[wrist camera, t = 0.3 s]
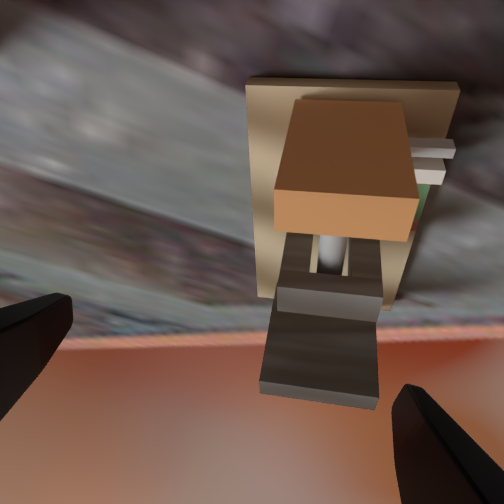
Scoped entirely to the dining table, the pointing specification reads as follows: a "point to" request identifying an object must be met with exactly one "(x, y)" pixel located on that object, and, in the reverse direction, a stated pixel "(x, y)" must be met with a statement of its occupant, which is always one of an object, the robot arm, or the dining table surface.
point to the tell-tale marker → (429, 170)
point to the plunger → (349, 175)
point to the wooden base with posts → (307, 246)
